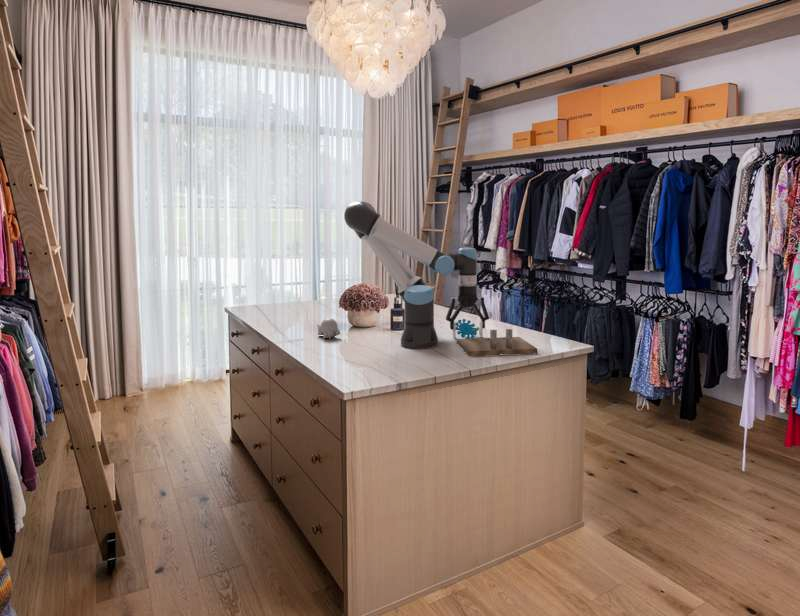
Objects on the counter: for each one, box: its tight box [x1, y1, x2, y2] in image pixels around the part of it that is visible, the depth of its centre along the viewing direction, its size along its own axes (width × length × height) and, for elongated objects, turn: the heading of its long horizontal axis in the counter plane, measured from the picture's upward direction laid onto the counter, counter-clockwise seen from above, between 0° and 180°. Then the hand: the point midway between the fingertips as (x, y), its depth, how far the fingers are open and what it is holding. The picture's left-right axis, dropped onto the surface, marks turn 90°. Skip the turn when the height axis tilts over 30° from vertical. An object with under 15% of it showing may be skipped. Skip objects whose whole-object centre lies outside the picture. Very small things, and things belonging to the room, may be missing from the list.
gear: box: [456, 318, 479, 339], centre depth 255 cm, size 11×6×10 cm
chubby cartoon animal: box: [317, 317, 341, 339], centre depth 258 cm, size 7×12×8 cm, turn 43°
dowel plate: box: [456, 328, 538, 357], centre depth 232 cm, size 26×22×9 cm
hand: (467, 336), depth 254 cm, fingers closed on gear, 11 cm apart
